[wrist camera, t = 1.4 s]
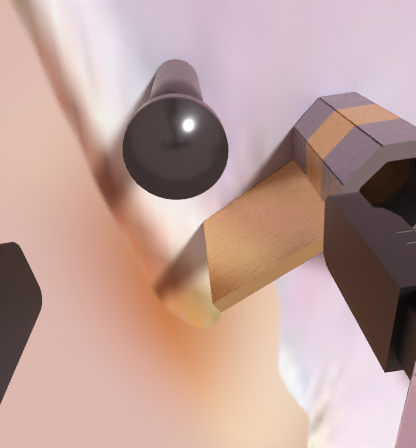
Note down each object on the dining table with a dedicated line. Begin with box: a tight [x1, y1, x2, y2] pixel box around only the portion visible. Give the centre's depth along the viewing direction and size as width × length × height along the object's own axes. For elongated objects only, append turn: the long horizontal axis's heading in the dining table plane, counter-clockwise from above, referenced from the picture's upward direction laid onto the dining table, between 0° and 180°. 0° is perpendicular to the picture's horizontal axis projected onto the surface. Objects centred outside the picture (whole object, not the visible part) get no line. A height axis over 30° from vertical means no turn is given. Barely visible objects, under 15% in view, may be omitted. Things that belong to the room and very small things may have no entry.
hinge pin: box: [123, 59, 228, 200], centre depth 22 cm, size 4×4×14 cm
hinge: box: [203, 92, 416, 312], centre depth 27 cm, size 10×23×10 cm, turn 98°
